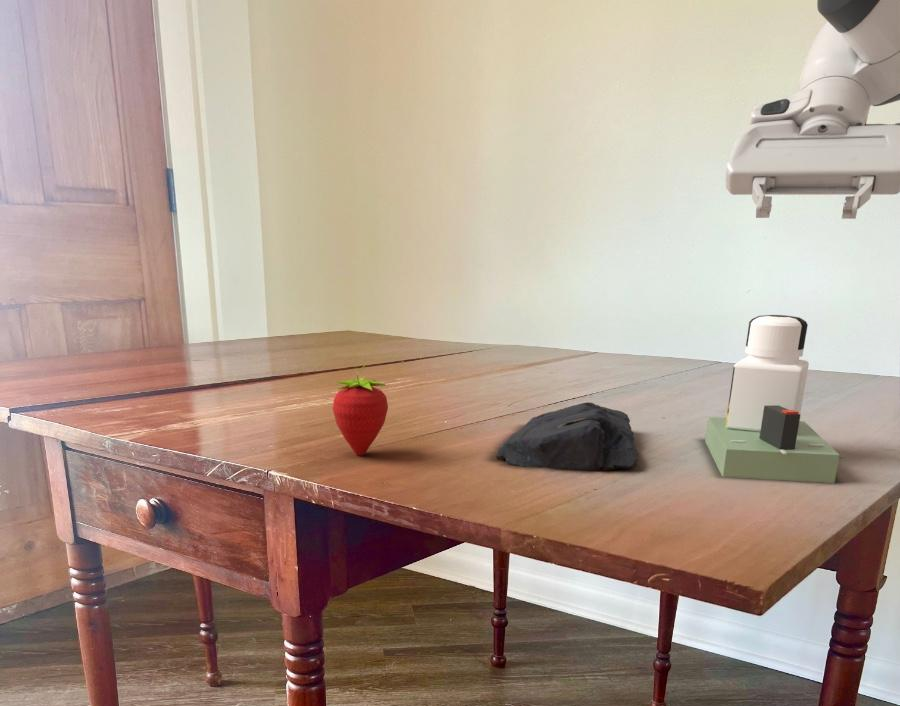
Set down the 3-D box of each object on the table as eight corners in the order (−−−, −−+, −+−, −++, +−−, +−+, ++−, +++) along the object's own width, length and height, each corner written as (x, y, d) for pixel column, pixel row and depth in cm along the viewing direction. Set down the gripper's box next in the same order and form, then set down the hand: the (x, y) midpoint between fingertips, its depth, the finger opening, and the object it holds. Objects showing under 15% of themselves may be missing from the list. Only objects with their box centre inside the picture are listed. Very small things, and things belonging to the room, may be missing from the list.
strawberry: (393, 449, 99) (392, 358, 95) (382, 465, 92) (380, 368, 88) (342, 447, 99) (339, 357, 95) (327, 463, 92) (323, 367, 88)
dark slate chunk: (644, 432, 109) (648, 394, 107) (635, 476, 89) (639, 430, 87) (524, 425, 112) (526, 387, 110) (489, 465, 92) (491, 421, 90)
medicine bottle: (735, 417, 103) (750, 311, 98) (798, 424, 100) (817, 315, 95) (724, 428, 97) (740, 316, 92) (791, 435, 94) (811, 320, 89)
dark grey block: (759, 438, 92) (764, 403, 91) (773, 438, 93) (779, 403, 91) (779, 449, 88) (785, 412, 86) (794, 449, 88) (801, 412, 87)
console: (800, 446, 103) (804, 419, 102) (837, 486, 86) (843, 455, 85) (704, 441, 105) (708, 415, 103) (723, 480, 88) (728, 449, 87)
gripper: (917, 147, 103) (899, 236, 99) (739, 151, 111) (716, 233, 107) (927, 99, 98) (909, 191, 93) (739, 107, 105) (715, 192, 101)
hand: (804, 214), depth 100 cm, fingers open, 8 cm apart
